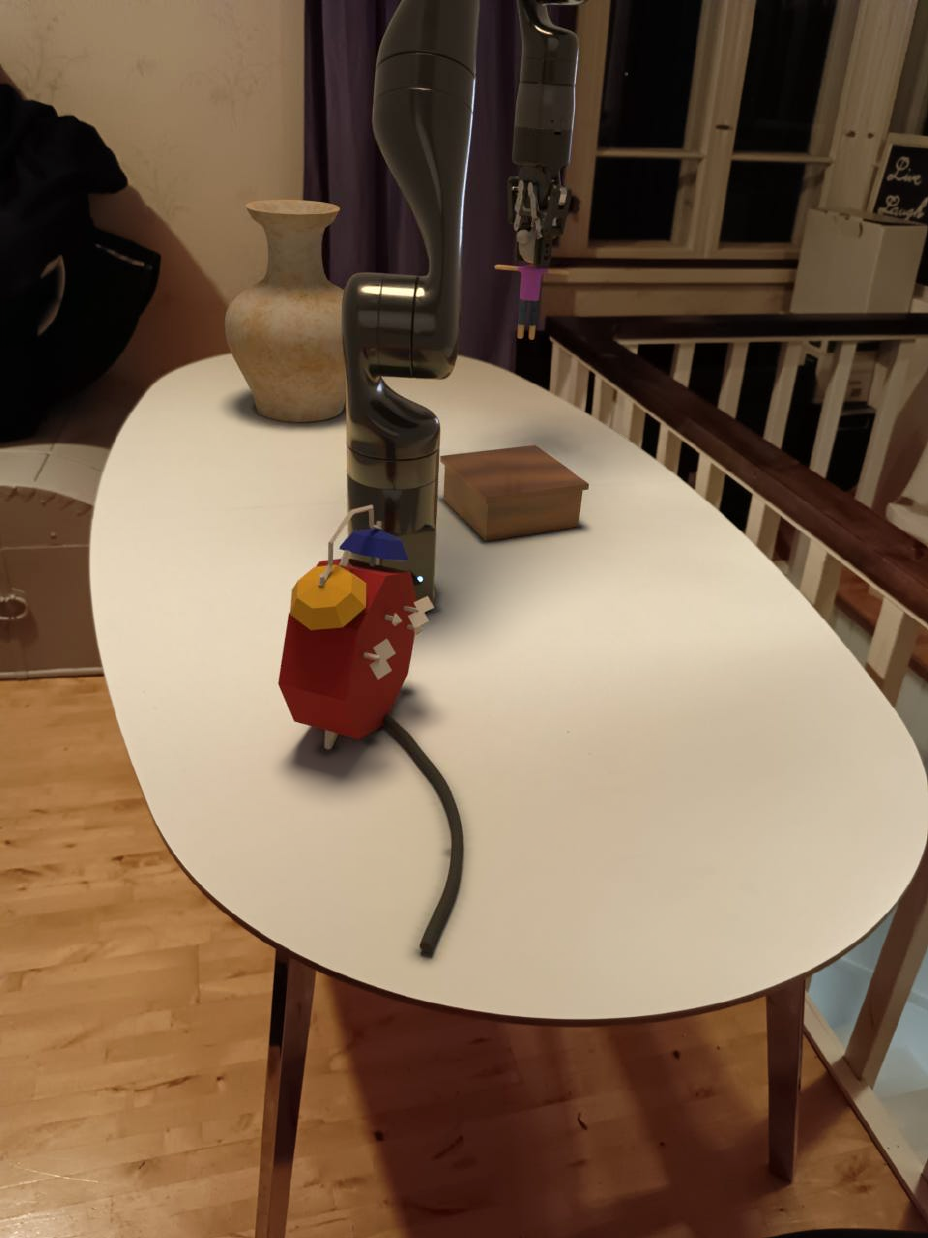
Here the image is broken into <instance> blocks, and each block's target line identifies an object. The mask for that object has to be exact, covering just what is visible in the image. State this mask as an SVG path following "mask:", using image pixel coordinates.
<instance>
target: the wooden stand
mask: <svg viewBox="0 0 928 1238" xmlns="http://www.w3.org/2000/svg"><path fill="white" fill-rule="evenodd" d="M439 463H441V464H442V465H443V466H444V477H443V480H444V481H443V497H442V499H443V501H444V502H445V503H446V504H447V505H448V506H449V507H451V509H452V510H453V511H454V512H456V514H458V515H459V517H461V518H462V519H463V520H464V522H466V524H467V525H469V526H470V527H471V528H472V530H474V531H475V532H476V533H477V534H478V535H479V536H480V537H481V538H482V539H483V540H484V541H485V542H489V541H490V542H491V541H496V540H502V539H508V538H515V537H520V536H521V537H522V536H527V535H534V534H535V535H536V534H540V533H546V532H547V533H548V532H553V531H561V530H565V529H572V528H578V527H579V522H580V514H581V506H582V499H583V491H588V490H589V487H590V483H589V482H588V481H586V480H584V479H583V478H582V477H580V476H579V475H578V474H576V473H575V472H573V470H571V469H570V468H568V467H567V466H566V465H564V464H563V463H561V462H560V461H559V460H557V459H556V458H554V457H553V456H552V455H550V454H549V453H548V452H546V451H545V450H543V449H542V448H541V447H539V446H538V445H537V444H529V445H521V446H513V447H511V446H510V447H504V448H495V449H487V450H486V449H485V450H479V451H478V450H477V451H470V452H459V453H453V454H445V455H439Z"/></svg>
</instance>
